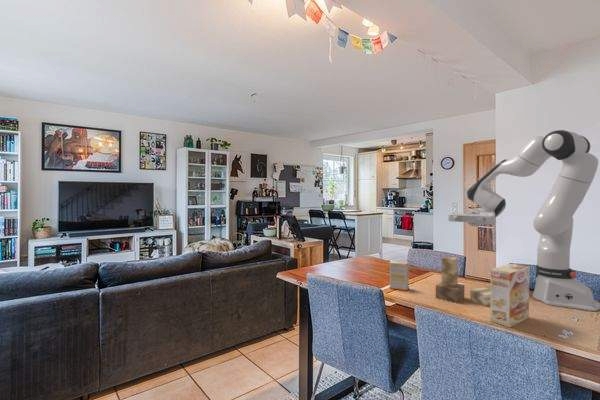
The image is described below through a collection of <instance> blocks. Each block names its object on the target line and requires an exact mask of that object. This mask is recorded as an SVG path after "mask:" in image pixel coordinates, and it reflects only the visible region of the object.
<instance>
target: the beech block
mask: <svg viewBox="0 0 600 400" xmlns="http://www.w3.org/2000/svg"><path fill="white" fill-rule="evenodd" d="M469 290H470V295H469V296H470V299H469V300H470V301H471V300H472V301H471V302H473V301H474V303H476V304H478V303H479V304H478V305H480V304H481V306H482V307H485V306H486V307H491V288H488V287H477V288H471V289H469Z"/></svg>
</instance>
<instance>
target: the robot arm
mask: <svg viewBox="0 0 600 400" xmlns="http://www.w3.org/2000/svg"><path fill="white" fill-rule="evenodd" d="M590 150H591V142H590V141H589V140H588V139H587V137H585V136H583V135H580V134H577V133H576V132H574V131H573V132H572V131H567V130H564V129H563V130H562V129H561V130H560V129H559V130H553V131H551V132H549V133H547V134H546V135H545V136H535V137H532V138H531V139H530V140H529V141H528V142H527V143H526V144H524V145H523V146H522V148H521V149H520V150H519V151H518V152H517V153H516V154H515V155H514V156H513V157H511V158H510V159H503V160H501V161H500V162H498V163H497V164H495V166H493V167H492V168H491V169H490V170H489V171H487V173H485V174H484V175H483V176H482V177H480V178H479V179H478V180H477V182H475V183H474V184H472V185H471V186H470V187H469V188H468V190H466V196H467V199H468V200H470V201H471V202H473V203H475V205H478V206H479V207H475V208H471V209H468V210H467V211H466V212H465V213H457V212H455V213H449V214H448V219H447V220H448V222H452V223H453V222H456V223H467V224H468V225H469V226H471V227H482V226H494V225H495V224H496V218H497V217H498V216H500V215H501V214H502V213H503V212H504V210H505V209H506V206H507V205H506V204H507V201H506V199H505V198H504V197H502V196H501V195H500V194H498V193H496V191H494V190H492V189H491V188H489V187H488V185H489V184H490V183H491V182H492V181H494V180H495V178H497V177H498V176H499V175H503V174H504V175H510V176H514V177H518V178H519V177H520V178H525V177H530V176H532V175H534V174H535V173H536V172H537V171H538V170H539V169H540V168H541V167H542V165H544V164H545V162H547V160H548V159H550V158H551V157H552V158H554V159H555V160H558V161H562V167H561V169H560V171H559V173H558V175H557V178H556V180H555V181H554V184H553V186H552V188H551V190H550V193H549V194H548V196H547V197H546V199H545V200H544V202H543V203H542V204H541V206H540V209H539V211H538V212H537V214H536V215H535V217H534V219H533V221H532V222H533V224H532V225H533V227H534V230H535V231H536V232H537V233H538V234H540V235H539V241H538V244H537V251H536V252H537V254H536V256H537V260H536V266H535V278H536V279H535V284H534V285H535V286H534V289H533V292H532V295H531V296H532V298H534V299H535V300H538V301H539V302H542V303H544V304H546V305H549V306H556V307H562V308H563V307H564V308H570V309H576V310H582V311H583V310H584V311H591V312H596V311H599V310H600V302H599V301H598V300H596V299H594V294H593V292H592V290H591V289H590V287H589V286H587V285H586V284H584V283H583V282H581V281H580V280H579V279H578V278H576V277H577V272H576V269H572V268H570V257H571V245H572V239H573V229H574V217H573V216H574V214H575V213H576V211H577V210H578V208H580V205H581V204H582V203H583V201H584V199H585V197H586V194H587V193H588V191H589V189H590V187H591V185H592V183H593V181H594V179H595V177H596V173H597V170H598V167H599V159H598V157H596V156H595V154H594V155H593V154H592V153H589V152H590Z"/></svg>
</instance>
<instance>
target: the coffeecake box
mask: <svg viewBox="0 0 600 400" xmlns="http://www.w3.org/2000/svg"><path fill="white" fill-rule="evenodd" d="M530 272H531V271H530V266H526V265H523V264H522V265H521V264H514V263H508V264H505V265H501V266H498V267H494V268H491V269H490V289H491V306H490V311H489V312H490V314H489V315H490V316H489V317H490V318H489V319H490V320H489V321H490V322H492V323H495V324H497V323H498V325H500V324H501V325H500V326H503V325H504V326H503V327H507V328H509V327H510V328H512V327H514V326H517V325H518V324H520V323H521V322H524V321H525V320H527V319H530V317H529V315H530V313H529V312H530V309H529V308H530V303H529V302H530Z"/></svg>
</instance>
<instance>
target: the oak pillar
mask: <svg viewBox="0 0 600 400" xmlns="http://www.w3.org/2000/svg"><path fill="white" fill-rule="evenodd" d="M458 262H459V261H458V257H453V256H444V257H441V282H442V285H444V286H450V287H455V286H456V285H458V284H459V282H458V281H459V279H458V278H459V277H458V276H459V275H458V273H459V272H458V271H459V270H458V269H459V267H458V265H459V263H458Z"/></svg>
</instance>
